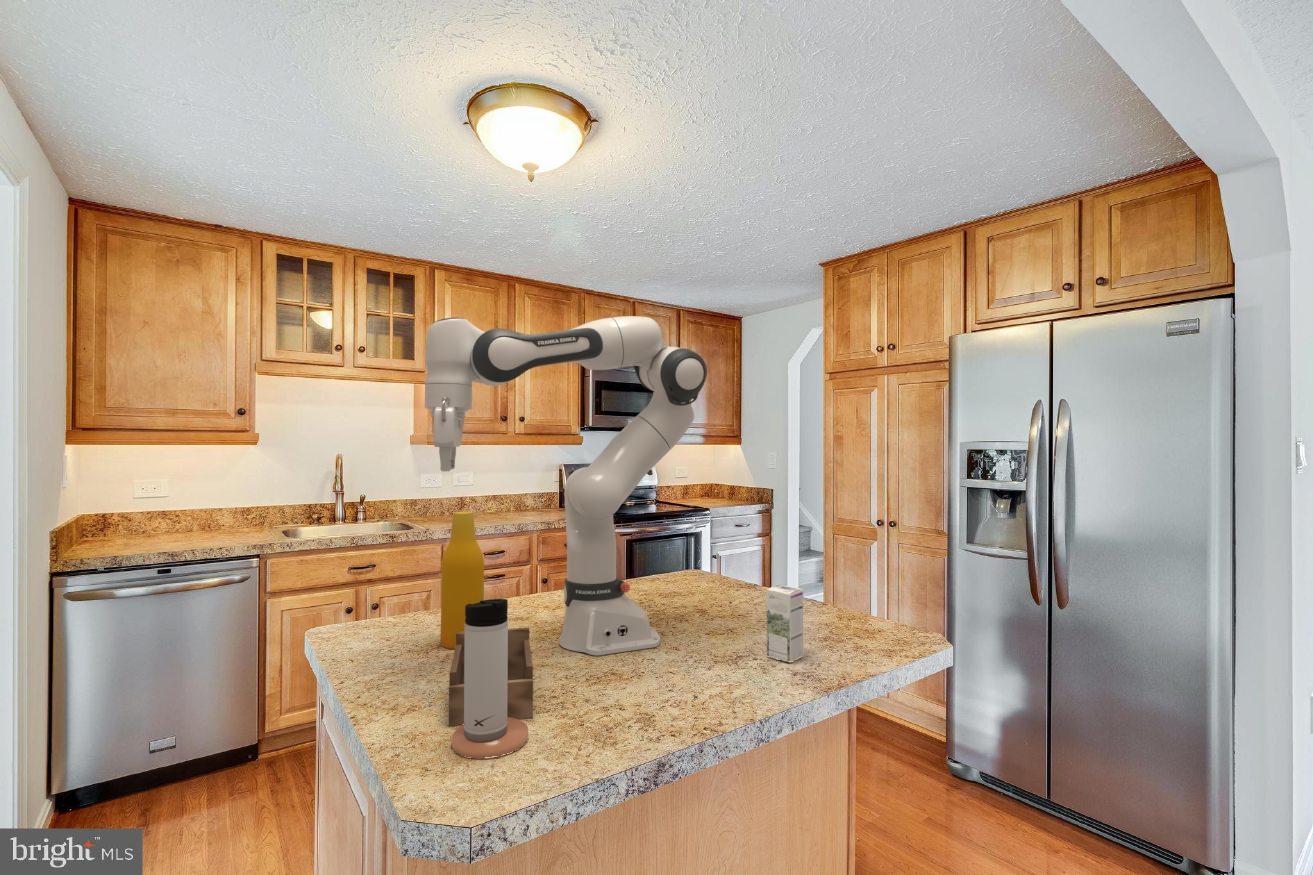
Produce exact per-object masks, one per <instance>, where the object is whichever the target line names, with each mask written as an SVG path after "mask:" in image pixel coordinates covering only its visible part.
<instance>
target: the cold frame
mask: <svg viewBox="0 0 1313 875" xmlns="http://www.w3.org/2000/svg"><path fill="white" fill-rule="evenodd" d="M464 652H465V632H456V647H455V649H454V652H453V657H452V660H451V665H450V670H449V676H448V677H449V680H448V681H449V682H448V727H452V725H455V726H460V725H459V724H464ZM532 657H533V656H532V650H531V643H530V627H517V628H516V627H515V628H508V692H507V717H510V718H515V719H518V720H524V719H533V717H534V712H533V711H534V678H533V676H534V672H533V671H534V667H533V666H534V664H533V658H532Z"/></svg>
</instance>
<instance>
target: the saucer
mask: <svg viewBox="0 0 1313 875" xmlns="http://www.w3.org/2000/svg"><path fill="white" fill-rule="evenodd" d="M527 739H528V740H529V728H528V725H527V723H525V722H524V721H523V720H522V719H515V718H510V717H507V732H506V733H505V734H504V735H503V736H502V737H500V738H498V739H496V740H492V741H488V742H474V741H471V740H468V739H467V738H466V737H465V736H464V725H460V727H458V728H456V729H455V731H454V732H453V733H452V736H451V749H452V751H453V750H454V751H455V752H456V753H457V754H456V753H455V752H454V751H453V752H454V753H455V754H456V755H458V754H460V755H462V756H466V757H471V758H485V757H492V756H501V755H503V754H507V753H510V752H512V751H515V750H517V749H519V748H520V747H522V745H524V744H525V743H526V744H527V742H528V740H527ZM526 741H527V742H526ZM526 744H525V745H526ZM525 745H524V746H525ZM522 748H523V747H522ZM520 749H521V748H520ZM520 749H519V750H520ZM517 751H518V750H517ZM515 752H516V751H515ZM460 755H459V756H460ZM462 756H461V757H462Z"/></svg>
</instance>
